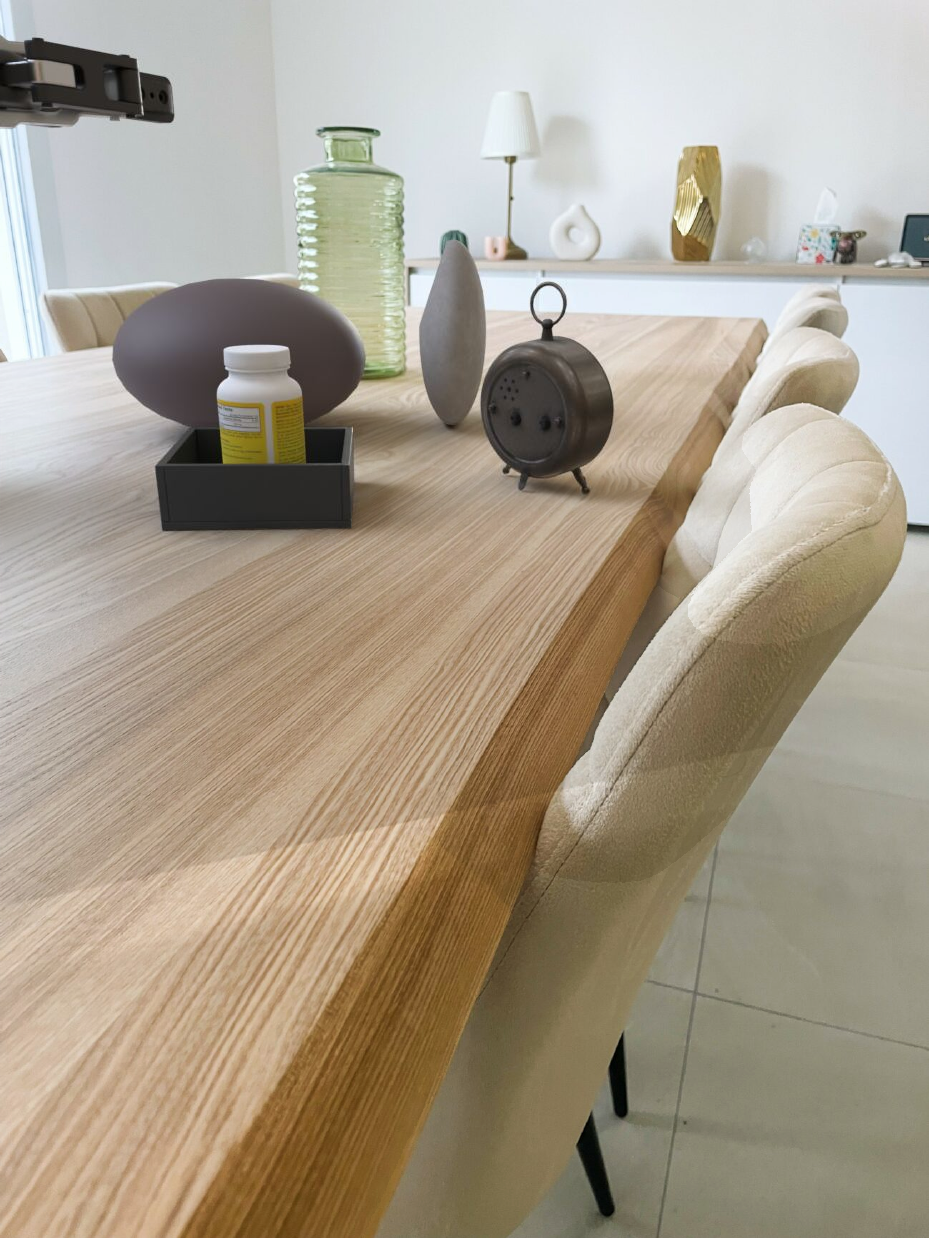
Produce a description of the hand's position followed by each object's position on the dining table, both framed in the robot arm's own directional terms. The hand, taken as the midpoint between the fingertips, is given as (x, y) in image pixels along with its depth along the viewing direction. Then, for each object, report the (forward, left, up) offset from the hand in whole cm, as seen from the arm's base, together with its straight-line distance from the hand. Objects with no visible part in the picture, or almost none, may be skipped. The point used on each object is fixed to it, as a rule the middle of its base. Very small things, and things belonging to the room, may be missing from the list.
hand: (111, 104), depth 52 cm
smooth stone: (-9, +37, -26) cm, 46 cm away
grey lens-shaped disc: (+11, +46, -26) cm, 54 cm away
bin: (+3, +11, -26) cm, 28 cm away
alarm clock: (+23, +21, -26) cm, 41 cm away
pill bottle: (+4, +10, -26) cm, 28 cm away
